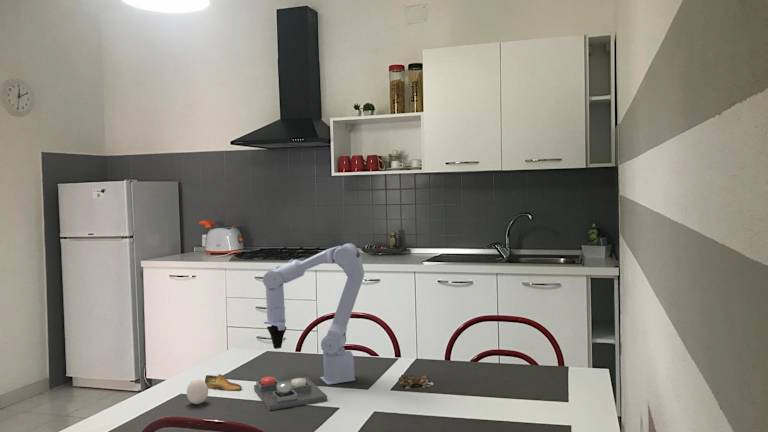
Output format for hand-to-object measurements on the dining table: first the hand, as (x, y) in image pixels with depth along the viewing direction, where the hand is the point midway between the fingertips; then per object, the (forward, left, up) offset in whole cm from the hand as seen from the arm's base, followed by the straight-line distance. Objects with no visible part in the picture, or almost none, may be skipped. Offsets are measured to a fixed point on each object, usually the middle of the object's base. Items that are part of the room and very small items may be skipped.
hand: (277, 348), depth 212 cm
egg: (+27, +11, -11) cm, 31 cm away
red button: (+6, +11, -9) cm, 15 cm away
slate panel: (+1, +17, -10) cm, 20 cm away
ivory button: (-2, +17, -9) cm, 19 cm away
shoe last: (+18, 0, -11) cm, 21 cm away
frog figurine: (-36, +27, -11) cm, 46 cm away
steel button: (+4, +23, -7) cm, 25 cm away
